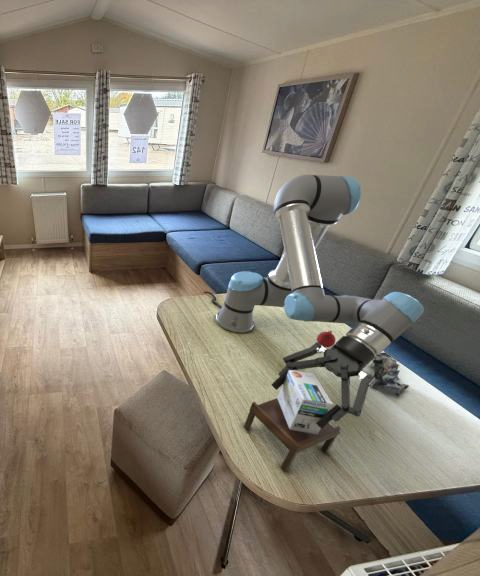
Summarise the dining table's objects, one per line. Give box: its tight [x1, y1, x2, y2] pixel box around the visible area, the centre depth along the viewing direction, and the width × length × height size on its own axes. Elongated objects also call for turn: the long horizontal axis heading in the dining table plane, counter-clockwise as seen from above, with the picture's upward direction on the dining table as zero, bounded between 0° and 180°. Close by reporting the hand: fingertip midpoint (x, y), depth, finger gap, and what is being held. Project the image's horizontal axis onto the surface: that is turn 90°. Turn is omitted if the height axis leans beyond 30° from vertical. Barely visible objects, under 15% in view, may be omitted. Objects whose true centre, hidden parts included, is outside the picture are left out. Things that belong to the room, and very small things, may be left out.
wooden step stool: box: [243, 397, 342, 473], centre depth 83 cm, size 14×16×10 cm
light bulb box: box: [276, 370, 335, 434], centre depth 79 cm, size 11×7×11 cm, turn 169°
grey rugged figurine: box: [370, 352, 410, 397], centre depth 105 cm, size 12×11×15 cm
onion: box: [316, 329, 336, 348], centre depth 120 cm, size 6×6×8 cm
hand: (294, 405), depth 78 cm, fingers closed on light bulb box, 12 cm apart
